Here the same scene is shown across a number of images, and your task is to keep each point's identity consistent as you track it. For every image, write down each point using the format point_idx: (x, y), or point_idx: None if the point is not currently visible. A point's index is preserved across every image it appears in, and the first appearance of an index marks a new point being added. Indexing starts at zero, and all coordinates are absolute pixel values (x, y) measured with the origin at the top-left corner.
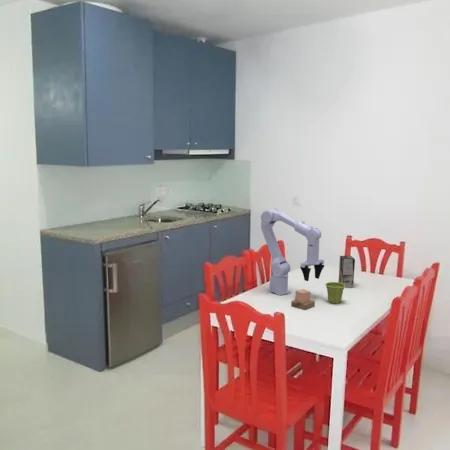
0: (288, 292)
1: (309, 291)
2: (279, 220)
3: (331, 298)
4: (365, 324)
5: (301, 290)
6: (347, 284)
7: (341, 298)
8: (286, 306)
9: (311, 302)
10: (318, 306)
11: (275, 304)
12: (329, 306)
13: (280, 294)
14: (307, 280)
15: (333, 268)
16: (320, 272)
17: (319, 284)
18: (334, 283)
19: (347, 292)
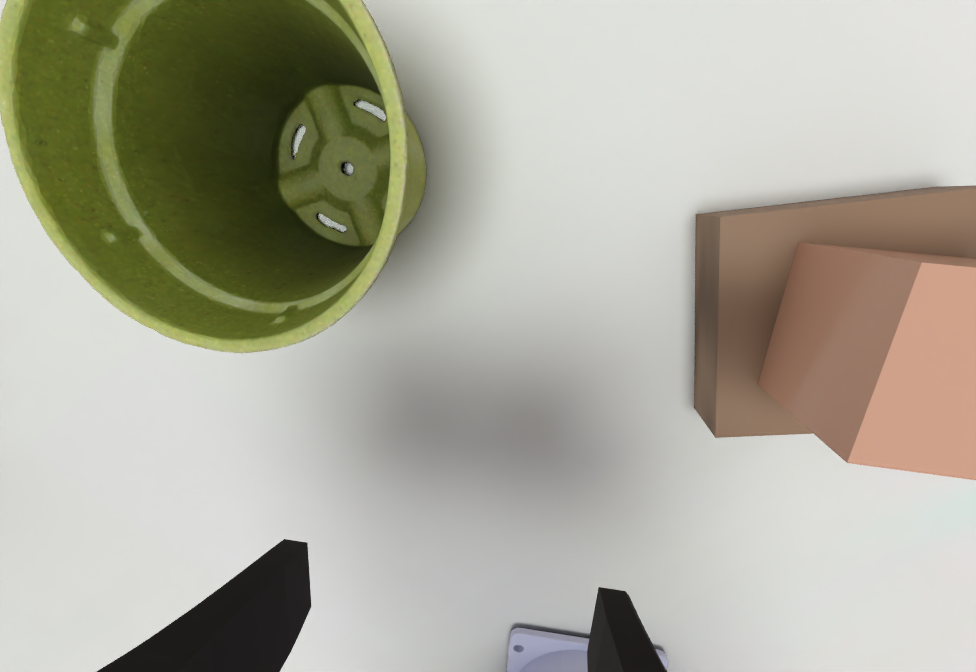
0: (548, 640)
1: (927, 288)
2: None
3: (416, 149)
4: None
5: (971, 431)
6: None
7: (281, 72)
8: None
9: (815, 209)
10: (666, 176)
11: (971, 536)
12: (556, 81)
13: (663, 657)
14: (630, 603)
15: None
16: (160, 647)
17: (103, 590)
18: (120, 272)
19: (5, 284)
